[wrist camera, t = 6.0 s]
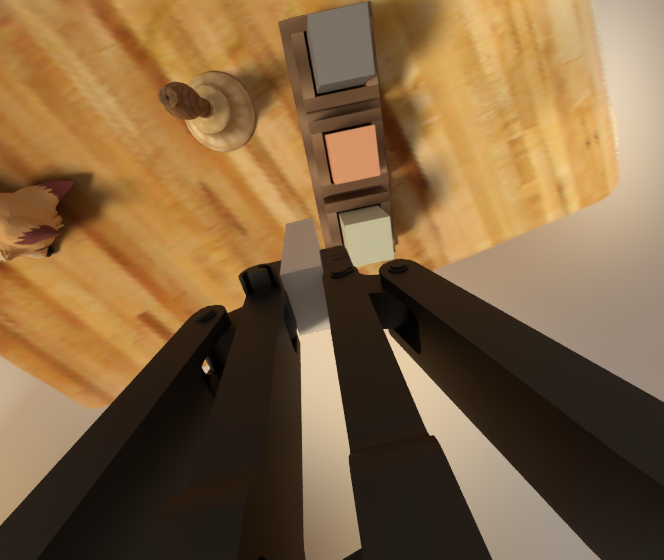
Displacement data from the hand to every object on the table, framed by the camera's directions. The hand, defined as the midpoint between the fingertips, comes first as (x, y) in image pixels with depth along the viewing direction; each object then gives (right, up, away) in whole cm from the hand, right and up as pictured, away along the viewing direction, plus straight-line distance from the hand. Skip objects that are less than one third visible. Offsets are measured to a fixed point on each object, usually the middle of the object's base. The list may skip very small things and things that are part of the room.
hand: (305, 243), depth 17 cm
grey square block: (+2, +21, +14) cm, 25 cm away
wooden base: (+3, +14, +22) cm, 26 cm away
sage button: (+5, +5, +22) cm, 23 cm away
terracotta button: (+3, +14, +20) cm, 25 cm away
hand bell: (-12, +18, +19) cm, 29 cm away
